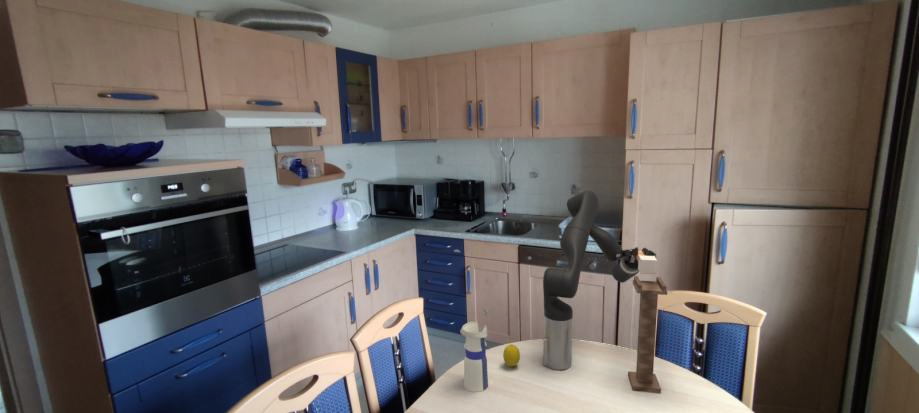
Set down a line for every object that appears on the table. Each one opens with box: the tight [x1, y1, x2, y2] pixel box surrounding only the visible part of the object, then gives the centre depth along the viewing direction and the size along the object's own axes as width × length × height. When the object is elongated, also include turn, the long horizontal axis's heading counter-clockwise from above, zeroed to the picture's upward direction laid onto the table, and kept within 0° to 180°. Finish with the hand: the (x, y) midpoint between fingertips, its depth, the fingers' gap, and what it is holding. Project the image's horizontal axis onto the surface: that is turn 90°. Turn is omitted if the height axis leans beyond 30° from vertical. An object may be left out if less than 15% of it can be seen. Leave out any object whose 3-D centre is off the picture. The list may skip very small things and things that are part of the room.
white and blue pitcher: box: [460, 306, 490, 393], centre depth 131 cm, size 8×9×25 cm
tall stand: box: [627, 275, 668, 394], centre depth 128 cm, size 8×8×33 cm
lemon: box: [502, 343, 521, 368], centre depth 142 cm, size 6×6×8 cm
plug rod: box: [635, 251, 658, 275], centre depth 134 cm, size 4×16×4 cm, turn 167°
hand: (641, 250), depth 138 cm, fingers closed on plug rod, 2 cm apart
